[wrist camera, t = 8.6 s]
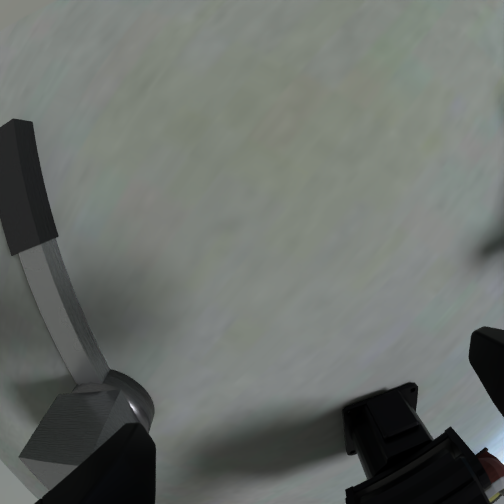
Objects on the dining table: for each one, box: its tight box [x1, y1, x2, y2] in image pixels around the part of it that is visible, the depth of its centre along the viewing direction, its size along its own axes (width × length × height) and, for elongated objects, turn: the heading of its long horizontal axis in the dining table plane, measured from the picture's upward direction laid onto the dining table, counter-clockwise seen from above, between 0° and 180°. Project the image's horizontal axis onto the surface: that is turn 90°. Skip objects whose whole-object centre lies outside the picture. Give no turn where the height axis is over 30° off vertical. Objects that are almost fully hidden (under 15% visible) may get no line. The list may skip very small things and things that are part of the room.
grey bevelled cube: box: [19, 389, 156, 490], centre depth 15 cm, size 6×6×7 cm
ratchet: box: [0, 119, 154, 434], centre depth 16 cm, size 24×6×6 cm, turn 14°
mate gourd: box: [475, 447, 504, 504], centre depth 19 cm, size 8×8×15 cm
